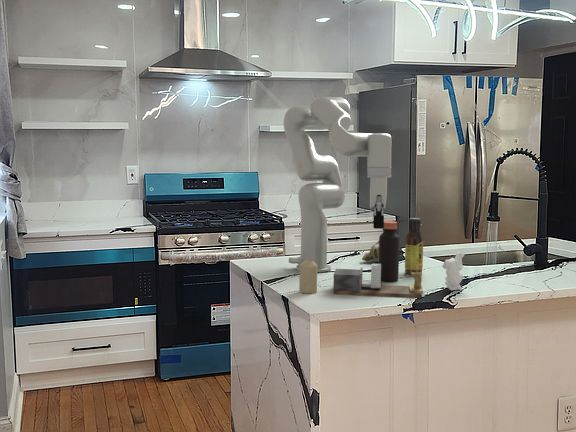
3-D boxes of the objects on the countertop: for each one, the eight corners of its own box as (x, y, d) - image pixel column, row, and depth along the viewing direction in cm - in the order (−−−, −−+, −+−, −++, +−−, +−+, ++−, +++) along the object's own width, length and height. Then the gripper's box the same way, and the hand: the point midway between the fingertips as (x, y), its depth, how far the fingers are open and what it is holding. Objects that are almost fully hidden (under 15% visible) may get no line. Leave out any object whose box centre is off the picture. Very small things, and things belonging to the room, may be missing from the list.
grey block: (337, 287, 212) (337, 264, 211) (338, 284, 216) (338, 262, 215) (380, 289, 210) (381, 266, 209) (380, 286, 214) (381, 263, 213)
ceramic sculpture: (398, 238, 266) (387, 245, 252) (398, 259, 267) (387, 268, 254) (372, 236, 270) (360, 243, 257) (372, 257, 272) (360, 266, 258)
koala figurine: (457, 286, 222) (458, 250, 220) (471, 290, 216) (473, 253, 214) (436, 288, 218) (438, 251, 216) (450, 292, 212) (452, 255, 210)
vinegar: (385, 283, 225) (387, 223, 222) (374, 279, 231) (375, 221, 228) (402, 281, 228) (404, 222, 226) (390, 277, 234) (392, 220, 232)
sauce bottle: (422, 275, 237) (424, 219, 235) (404, 274, 238) (406, 219, 236) (422, 272, 244) (424, 217, 241) (404, 271, 245) (406, 217, 242)
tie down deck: (333, 294, 209) (333, 273, 208) (335, 286, 220) (336, 266, 219) (423, 297, 205) (424, 276, 204) (421, 289, 216) (422, 269, 215)
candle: (298, 289, 214) (298, 258, 213) (315, 289, 214) (316, 258, 213) (300, 294, 208) (300, 262, 207) (317, 293, 209) (318, 262, 208)
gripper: (367, 171, 222) (366, 223, 223) (366, 173, 205) (366, 229, 206) (390, 171, 221) (389, 223, 223) (391, 174, 204) (391, 230, 205)
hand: (378, 226), depth 214 cm, fingers open, 9 cm apart
